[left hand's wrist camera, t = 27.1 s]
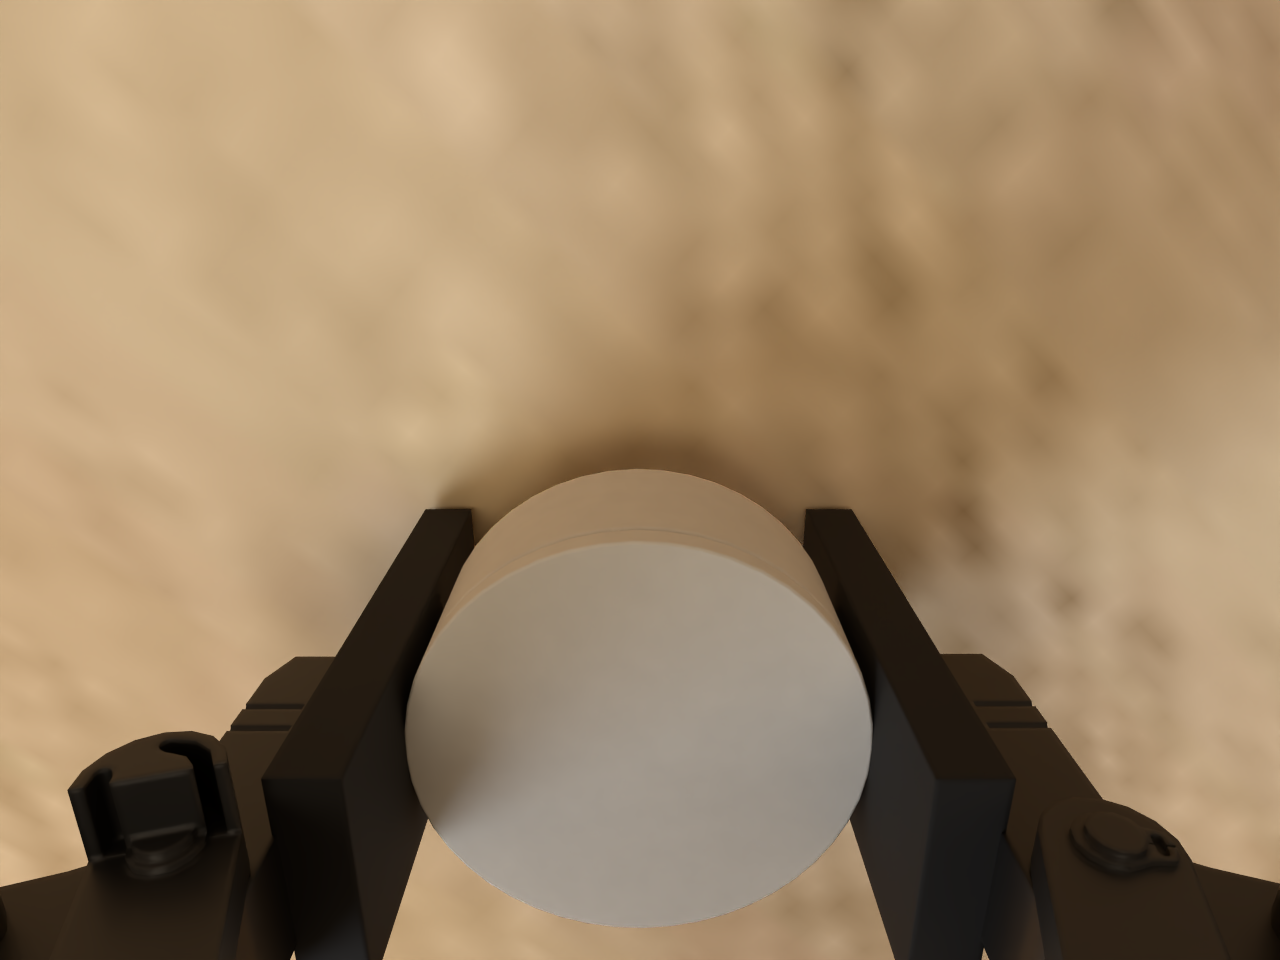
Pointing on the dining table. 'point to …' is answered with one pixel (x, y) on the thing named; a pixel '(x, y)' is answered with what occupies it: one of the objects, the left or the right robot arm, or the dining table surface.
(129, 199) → the dining table surface
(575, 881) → the lid
